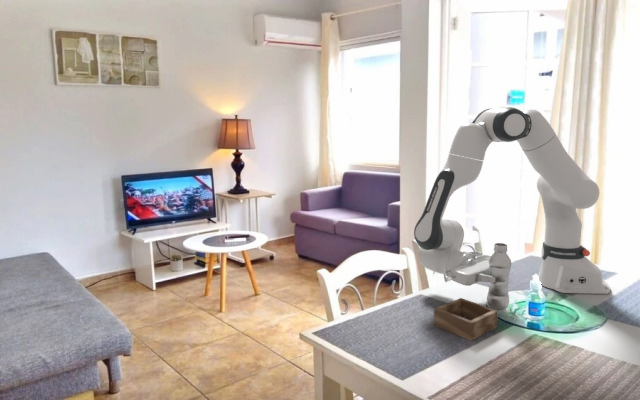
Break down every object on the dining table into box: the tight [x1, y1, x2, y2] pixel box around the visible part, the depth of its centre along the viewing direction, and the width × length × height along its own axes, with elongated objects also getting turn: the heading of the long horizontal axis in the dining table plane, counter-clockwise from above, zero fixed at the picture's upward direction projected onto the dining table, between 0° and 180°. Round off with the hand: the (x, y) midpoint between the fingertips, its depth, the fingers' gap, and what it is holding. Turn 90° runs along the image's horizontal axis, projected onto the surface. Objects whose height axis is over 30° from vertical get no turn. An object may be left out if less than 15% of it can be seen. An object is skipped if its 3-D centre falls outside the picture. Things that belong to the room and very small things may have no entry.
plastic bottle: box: [486, 242, 512, 311], centre depth 150 cm, size 6×7×20 cm
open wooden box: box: [433, 297, 499, 342], centre depth 141 cm, size 12×12×5 cm
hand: (501, 277), depth 149 cm, fingers closed on plastic bottle, 5 cm apart
